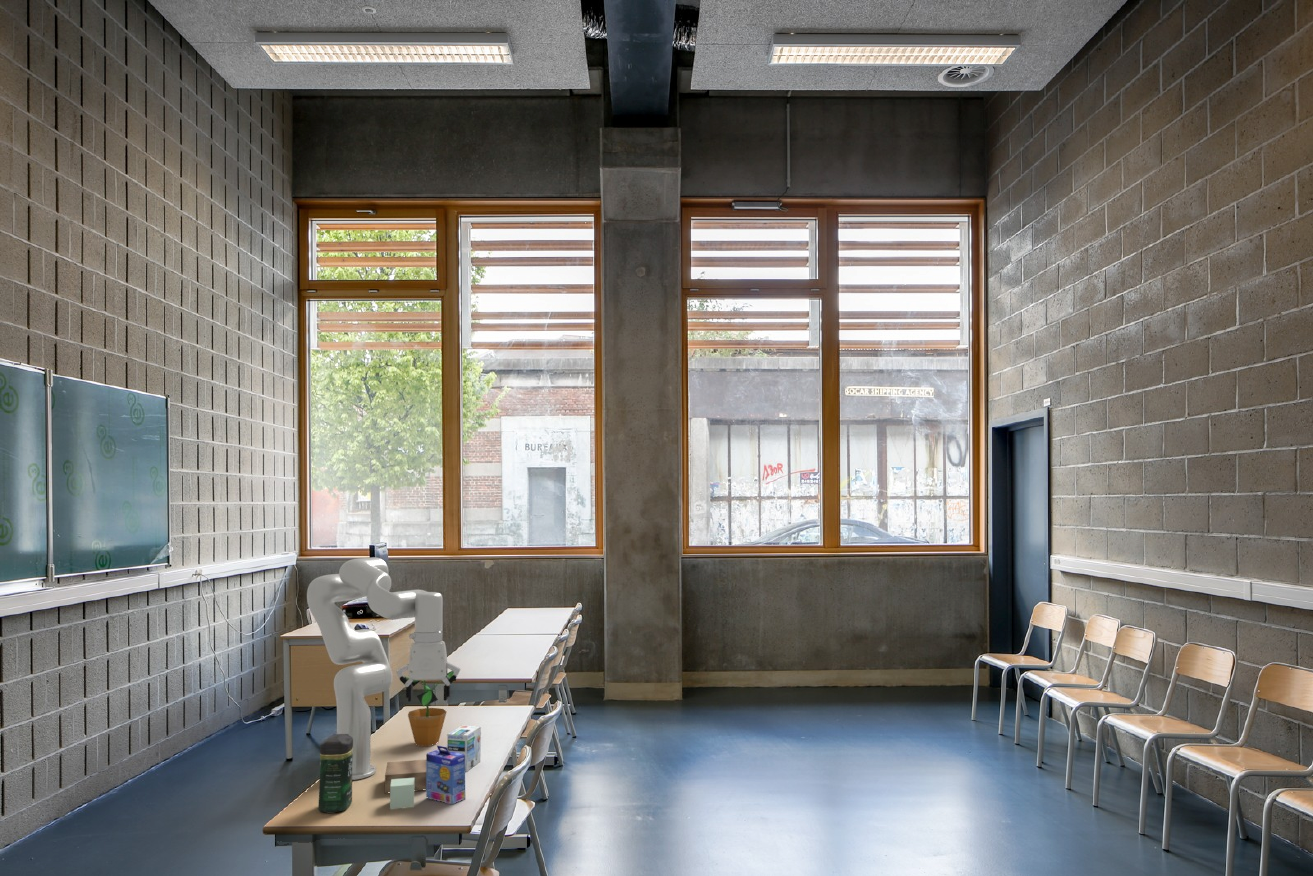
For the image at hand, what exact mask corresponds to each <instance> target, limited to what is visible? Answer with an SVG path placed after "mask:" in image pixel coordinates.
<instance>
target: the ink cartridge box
mask: <svg viewBox="0 0 1313 876" xmlns="http://www.w3.org/2000/svg"><path fill="white" fill-rule="evenodd" d="M436 748H437V749H435V750H433V751H430V752H427V753H426V758H425V760H426V790H425V791H426V792H425V793H426V794H425V795H426V797H428V798H431V799H430V800H432V799H434V800H433V801H436V800H437V801H436V802H440V801H442V802H441V803H443V802H445V803H444V804H447V805H454V804H456V802H457V803H459V802H461V800H462V801H464V800H466V771H465V755H464V754H462V753H457V752H450V751H449V750H448V748H447V746H442V745H436ZM458 801H459V802H458Z"/></svg>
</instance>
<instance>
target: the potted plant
mask: <svg viewBox="0 0 1313 876" xmlns="http://www.w3.org/2000/svg"><path fill="white" fill-rule="evenodd" d="M453 673H454V671H452V670H450V671H449V672H447V676H448V677H449V678H451V677H452V675H453ZM405 677H406V678H407V679H408V680H409V676H408V677H407V676H405ZM456 681H457V678H456V679H455V680H454V681H453V682H456ZM441 682H443V681H442V680H440V681H439V682H438V683H436V684H435V685H434V686H433V687H432V688H431V687H429V686H428V685H426V680H414V681H413V682H412V685H413V688H414V687H415V686H416V685H417V684H418V683H419V684H420V685H421V686H422V687H423V692H422V693H421V694H417V695H416V698H417V699H418V701H419V702H420V704H421V705H422V707H424V708H417V709H414V710H411V711H408V714H407V717H408V722H409V725H410V729H411V733H412V737H413V739H414V743H415V744H417V745H416V746H418V745H419V746H418V747H429V746H428V745H432V744H435V745H437V744H438V743H439V741H440V737H441V734H442V730H443V727H444V722H445V720H446V715H447V711H446V710H445V709H444V708H439V707H429V705H430V704H432V703H435V702H437V701H438V700H439V699H438V697H437V696H436V694H435V691H434V689H435V688H436V687H437V686H438V685H439V684H440V683H441ZM437 742H438V743H437ZM436 743H437V744H436ZM432 746H433V745H432Z"/></svg>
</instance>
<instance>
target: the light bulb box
mask: <svg viewBox="0 0 1313 876" xmlns="http://www.w3.org/2000/svg"><path fill="white" fill-rule="evenodd" d="M481 729H482V727H481V726H473V725H460V726H459V727H457V728H456V729H453V730H452V731H451V732H449V733H448V734H447V735H446V736H447V739H446V740H447V742H446V743H447V744H446V745H447V746H446V747H447V748H448V750H449V751H450V752H457V753H462V754H464V755H465V772H469V771H470V770H471V769H472V768H475V766H477V765H478V764H479V763H481V754H482V753H481V746H482V745H481V744H482V742H481V739H482V737H481V735H482V731H481ZM469 769H470V770H469Z"/></svg>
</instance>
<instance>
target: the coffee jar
mask: <svg viewBox="0 0 1313 876" xmlns="http://www.w3.org/2000/svg"><path fill="white" fill-rule="evenodd" d="M352 762H353V738H352V737H351V736H350V735H349V734H337V733H333V735H331V736H329V737H327V738H326V739H324V740H323V741H322V742H321V743H320V747H319V783H318V784H319V785H318V805H317V806H318V811H320V812H324V813H327V814H335V813H337V812H344V811H346V810H347V809H348V808H349V807H350V806H351V804H352V802H353V780H352Z"/></svg>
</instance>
